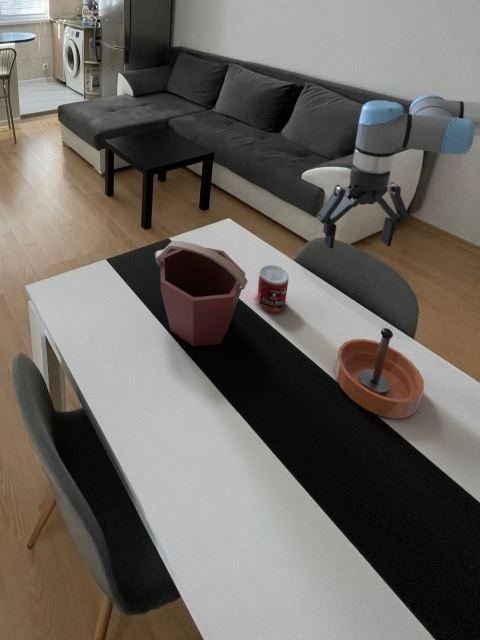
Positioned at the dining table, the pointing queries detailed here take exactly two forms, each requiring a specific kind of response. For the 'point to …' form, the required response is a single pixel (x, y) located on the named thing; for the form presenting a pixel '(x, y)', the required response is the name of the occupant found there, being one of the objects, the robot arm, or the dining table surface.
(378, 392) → the ring stacker peg
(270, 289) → the canned food
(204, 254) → the bucket
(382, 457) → the dining table surface
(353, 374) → the bowl
